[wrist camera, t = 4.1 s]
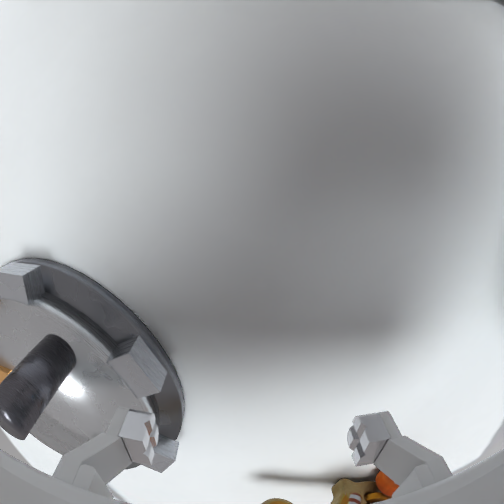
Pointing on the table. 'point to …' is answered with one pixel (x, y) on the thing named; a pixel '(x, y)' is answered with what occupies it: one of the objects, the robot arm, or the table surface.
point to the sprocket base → (115, 330)
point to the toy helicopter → (357, 491)
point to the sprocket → (68, 370)
